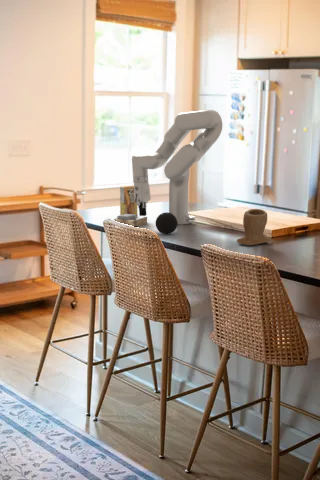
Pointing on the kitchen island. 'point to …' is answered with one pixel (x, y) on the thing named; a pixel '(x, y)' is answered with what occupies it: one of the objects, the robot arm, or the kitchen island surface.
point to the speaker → (166, 223)
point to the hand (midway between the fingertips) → (143, 215)
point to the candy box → (127, 200)
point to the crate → (127, 217)
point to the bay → (133, 221)
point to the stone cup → (254, 227)
